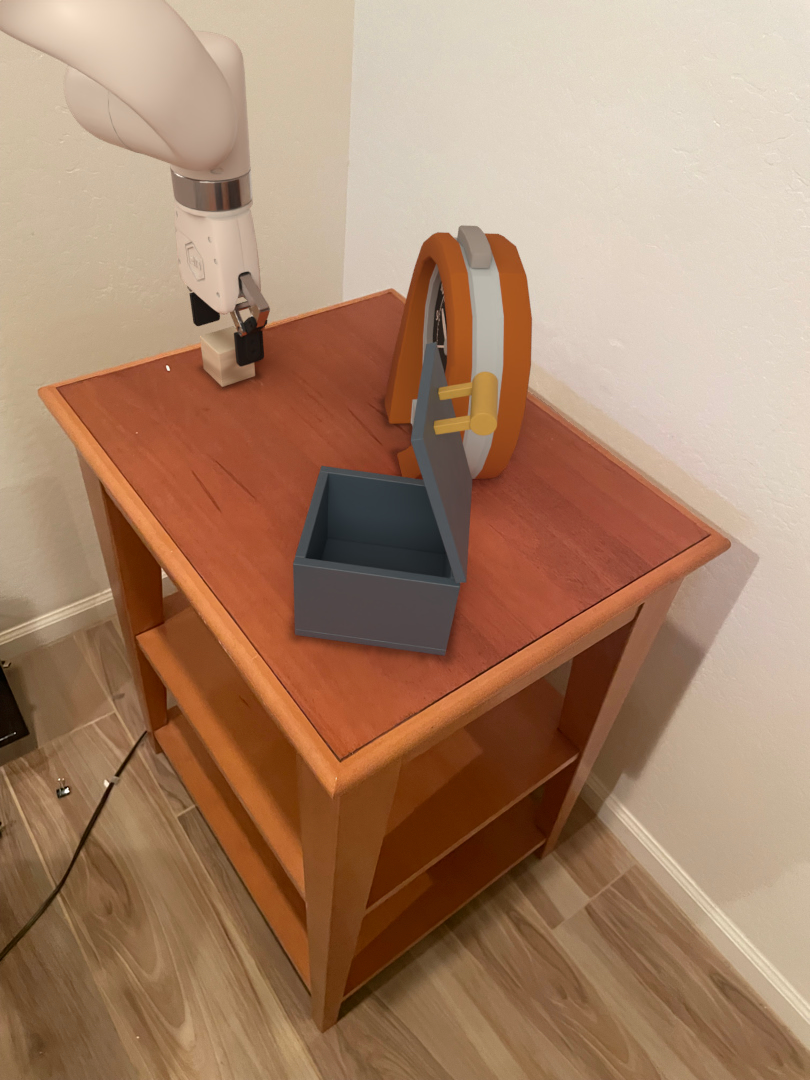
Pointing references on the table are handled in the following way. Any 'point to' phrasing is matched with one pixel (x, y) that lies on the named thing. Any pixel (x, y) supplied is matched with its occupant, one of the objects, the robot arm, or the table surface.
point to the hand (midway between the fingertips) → (228, 341)
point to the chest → (373, 564)
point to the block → (223, 357)
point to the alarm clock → (466, 338)
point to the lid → (450, 449)
